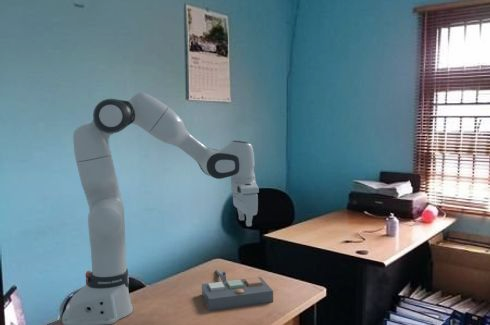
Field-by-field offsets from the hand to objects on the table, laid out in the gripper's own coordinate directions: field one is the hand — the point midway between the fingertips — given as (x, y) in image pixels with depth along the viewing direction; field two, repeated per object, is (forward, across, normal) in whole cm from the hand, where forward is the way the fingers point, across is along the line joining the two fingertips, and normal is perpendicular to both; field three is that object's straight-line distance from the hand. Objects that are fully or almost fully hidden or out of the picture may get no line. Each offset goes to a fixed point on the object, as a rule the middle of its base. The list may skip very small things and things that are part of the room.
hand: (245, 222), depth 153 cm
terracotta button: (+25, 0, +2) cm, 25 cm away
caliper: (+27, -18, -7) cm, 33 cm away
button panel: (+27, +2, -5) cm, 27 cm away
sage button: (+25, 0, -5) cm, 25 cm away
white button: (+25, 0, -12) cm, 27 cm away
